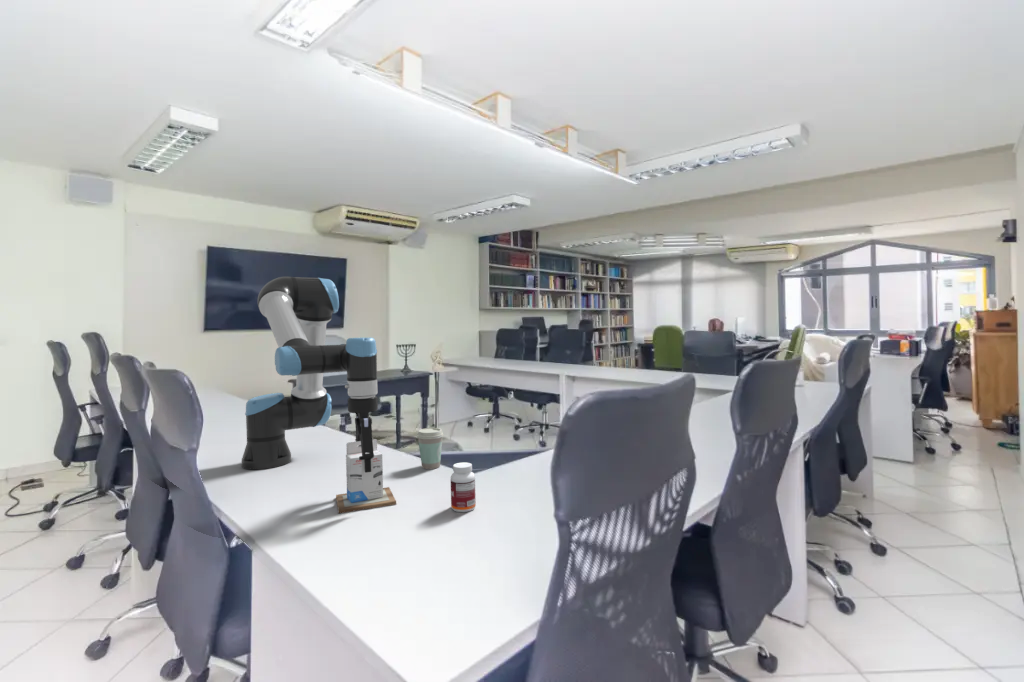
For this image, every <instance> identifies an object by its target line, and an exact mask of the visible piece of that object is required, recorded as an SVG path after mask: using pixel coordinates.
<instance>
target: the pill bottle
mask: <svg viewBox="0 0 1024 682" xmlns="http://www.w3.org/2000/svg"><path fill="white" fill-rule="evenodd" d="M452 471H453V473H451V475H450V506H451V509H452V510H453V511H454V512H457V513H466V512H467V513H468V512H471V511H473V510H474V509H476V506H477V505H476V504H477V503H476V501H477V499H476V498H477V497H476V476H475V473H474V472H473V464H472V463H470V462H457V463H454V464H453V465H452Z"/></svg>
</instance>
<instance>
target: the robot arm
mask: <svg viewBox="0 0 1024 682" xmlns="http://www.w3.org/2000/svg"><path fill="white" fill-rule="evenodd" d="M339 298H340V297H339V293H338V289H337V287H336V284H335V282H333V281H332V280H331V279H329V278H321V277H305V276H304V277H303V276H302V277H299V276H295V277H294V276H279V277H277V278H274V279H271V280H269V281H268V282H266V284H265V285H264V286H263V287H261V290H260V291H259V293H258V295H257V306H258V309H259V312H260V313H261V315H262V316H263V317H265V318H266V320H267V322H268V324H269V327H270V329H271V331H272V334H273V337H274V339H275V341H276V344H277V348H276V349H275V351H274V352H275V353H274V366H275V371H276V373H277V374H279V376H293V377H294V376H295V377H296V379H295V380H296V381H295V382H296V385H295V386H294V387H293V388H292V389H291V390H290V396H289V395H288V396H285V395H284V393H283V392H275V393H267V394H262V395H258V396H255V397H252V398H250V399H248V400H247V401H246V404H245V413H244V415H245V421H246V422H245V424H246V425H245V426H246V444H245V445H246V446H245V448H244V452H243V455H242V457H241V468H242V469H246V470H265V469H272V468H278V467H281V466H284V465H287V464H289V463H290V462H291V461H292V453H291V450H290V448H289V445H288V442H287V439H286V431H290V430H298V429H305V428H316V427H319V426H322V425H325V424H326V423H328V421H329V419H330V418H331V413H332V406H333V405H332V397H331V395H330V393H328V392H327V389H326V388H325V387H324V386H323V382H324V381H323V380H324V374H329V373H330V374H332V373H342V372H343V373H345V372H346V380H347V384H345V385H344V388H345V389H347V396H349V397H348V398H347V411H348V412H349V413H350V414H355V418H354V423H355V439H354V440H355V441H354V442H356V441H361V445H359V446H357V448H361V450H362V456H359V460H361V465H362V485H368V484H374V482H373V458H374V454H373V441H372V440H373V427H372V425H373V419H372V418H371V416H370V413H374V412H377V411H378V409H379V403H378V401H379V400H378V399H379V398H378V396H377V395H378V392H379V391H378V373H377V371H378V369H377V367H378V366H377V365H378V362H377V360H378V359H377V355H378V354H377V353H378V350H377V343H376V339H375V338H374V337H349V338H348V337H347V339H346V340H345V341H346V342H345V343H341V344H327V345H326V339H327V338H326V337H327V324H328V323H329V322H330V321H331V320H332V315H333V314H337V313H338V312H339V308H340V301H339ZM365 453H366V454H365Z"/></svg>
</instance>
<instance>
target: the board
mask: <svg viewBox="0 0 1024 682" xmlns="http://www.w3.org/2000/svg"><path fill="white" fill-rule="evenodd" d="M335 499H336V505H337V511H338V514H344V513H345V514H346V513H351V512H357V511H362V510H370V509H375V508H383V507H388V506H395V505H397V500H396V498H395V496H394V495H393V492H392V491H391V488H390V486H386V487H383V497H381V498H376V499H371V500H365V501H360V502H355V503H351V502H350V501H349V500H348V499H347V492H346V493H340V494H336V495H335Z"/></svg>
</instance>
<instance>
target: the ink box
mask: <svg viewBox="0 0 1024 682" xmlns="http://www.w3.org/2000/svg"><path fill="white" fill-rule="evenodd" d="M372 441H373V454H374V458H373V482H374V484H368V485H362V465H361V460H359V456H362V450H361V448H357V446H359V445H361V441H350V442H346V445H345V446H346V454H345V464H346V465H345V468H346V471H345V472H346V493H347V499H348V500H349V501H350V502H351V503H355V502H360V501H365V500H371V499H376V498H381V497H383V488H384V474H383V473H384V472H383V470H384V467H383V466H384V465H383V453H382V452H380V450H378V439H376V438H374V439H373V438H372ZM365 454H366V453H365Z"/></svg>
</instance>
